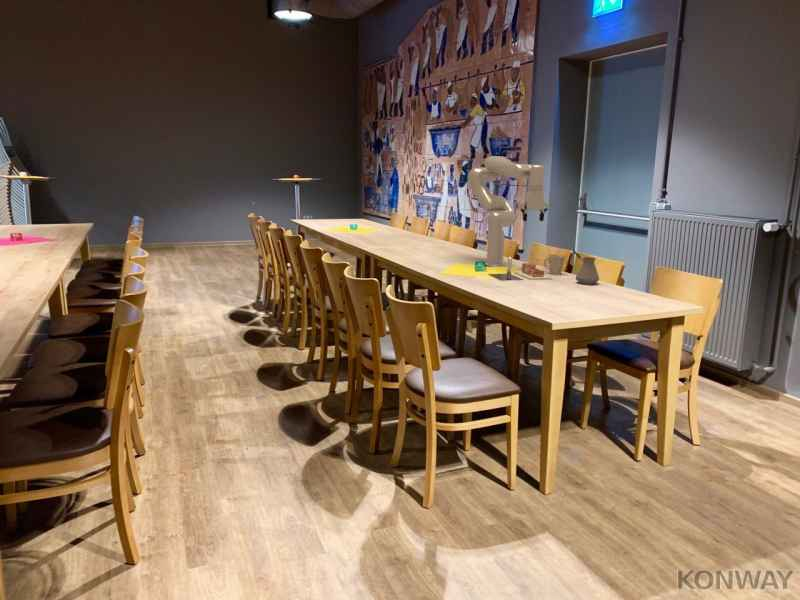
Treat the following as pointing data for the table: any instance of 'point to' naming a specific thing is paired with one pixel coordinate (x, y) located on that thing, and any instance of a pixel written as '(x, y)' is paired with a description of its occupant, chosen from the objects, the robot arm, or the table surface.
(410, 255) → the table surface
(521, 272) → the board
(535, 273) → the link
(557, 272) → the mug
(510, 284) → the table surface
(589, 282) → the coffee pot
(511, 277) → the stand
